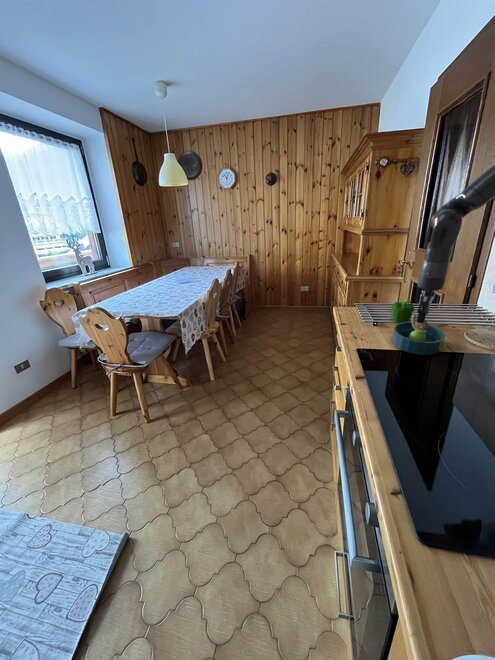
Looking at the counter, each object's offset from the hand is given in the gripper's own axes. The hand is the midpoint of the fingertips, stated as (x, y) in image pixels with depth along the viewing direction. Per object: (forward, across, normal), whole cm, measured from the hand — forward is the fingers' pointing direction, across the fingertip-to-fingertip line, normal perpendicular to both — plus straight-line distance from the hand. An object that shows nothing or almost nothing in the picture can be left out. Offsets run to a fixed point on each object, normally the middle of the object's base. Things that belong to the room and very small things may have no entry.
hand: (422, 317), depth 101 cm
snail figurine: (+11, 0, 0) cm, 11 cm away
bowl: (+11, 0, 0) cm, 11 cm away
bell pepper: (+11, +18, +9) cm, 23 cm away
